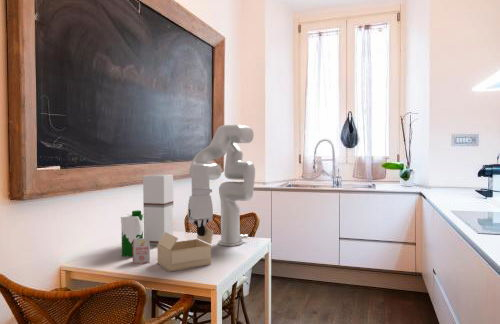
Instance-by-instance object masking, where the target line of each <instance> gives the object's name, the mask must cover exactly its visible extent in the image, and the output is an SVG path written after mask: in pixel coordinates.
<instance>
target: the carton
mask: <svg viewBox="0 0 500 324" xmlns="http://www.w3.org/2000/svg"><path fill="white" fill-rule="evenodd" d="M156 246H157V264H158V265H159V264H160V265H159V266H160V267H162V268H163V267H164V269H165V270H166V271H168V272H169V273H172V272H177V271H181V270H187V269H189V270H190V269H193V268H194V269H195V268H199V267H206V266H209V265H210V266H211V265H212V244H209V243H207V242H204V241H202V240H200V239H198V238H196V239H187V240H181V241H176V243H175V244H174V246H173V247H172V249H171V250H168V249H167V248H165V247H163V246H162V245H160V244H157V245H156Z"/></svg>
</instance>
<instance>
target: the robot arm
mask: <svg viewBox="0 0 500 324" xmlns="http://www.w3.org/2000/svg"><path fill="white" fill-rule="evenodd" d="M253 139H254V131H253V128H251V127H250V126H249V125H248V126H247V125H241V124H224V125H220V126H218V128H217V129H216V130H215V133H214V135H213V138H212V139H211V142H210V144H209V145H207V146H206V147H204V148H203V149H202V150H200V151H198V153H197V152H196V155H195V156H194V157H193V158H192V161H191V163H190V166H189V169H188V172H189V176H190V178H191V195H190V196H189V198H188V203H187V204H188V205H187V219H188V223H190V224H194V225H195V226H196V234H197V235H199V236H204V233H205V228H206V226H207V224H208V223H209V222H212V221H213V216H214V212H213V210H214V209H213V201H212V196H211V195H210V193H213V189H210V181H215V180H218V179H219V178H220V177H221V176H222V167H221V165H220V164H218V163H215V162H210V161H214V160H217V159H220V158H222V157H224V156H225V155H226V156H225V163H224V177H225V178H226V179H227V180H230V181H224V182H222V183H221V184H219V187H218V195H219V200H220V201H219V202H220V239H219V240H218V241H217V244H218V245H220V246H223V247H224V246H225V247H235V246H237V247H238V246H241V245H243V244H244V240H243V239H248V238H249V235H248V234H244V233H243V234H242V233H240V232H241V231H240V230H241V228H240V226H241V225H240V224H241V223H240V220H241V219H240V217H241V215H240V212H241V211H240V210H241V209H240V207H239V204H238V202H239V201H240V202H241V201H242V202H249V201H250V200H252V199H253V195H254V187H255V180H256V179H255V178H256V168H255V164H254V163H253V162H251V161H247V160H246V161H243V156H244V155H243V154H244V153H243V150H242V149H241V148H240V146H239V145H238V144H249V143H252V142H253ZM231 180H232V181H231ZM235 180H236V181H235ZM237 201H238V202H237Z"/></svg>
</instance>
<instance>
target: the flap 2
mask: <svg viewBox="0 0 500 324" xmlns="http://www.w3.org/2000/svg"><path fill="white" fill-rule="evenodd" d="M213 236H214V230H213V229H212V230H211V229H210V228H208V227H205V233H204V236H199V235H198V234H197V235H196V239H198V240H200V241H202V242H204V243H207V244H209V245H212V243H213V242H212V240H213Z"/></svg>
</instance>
